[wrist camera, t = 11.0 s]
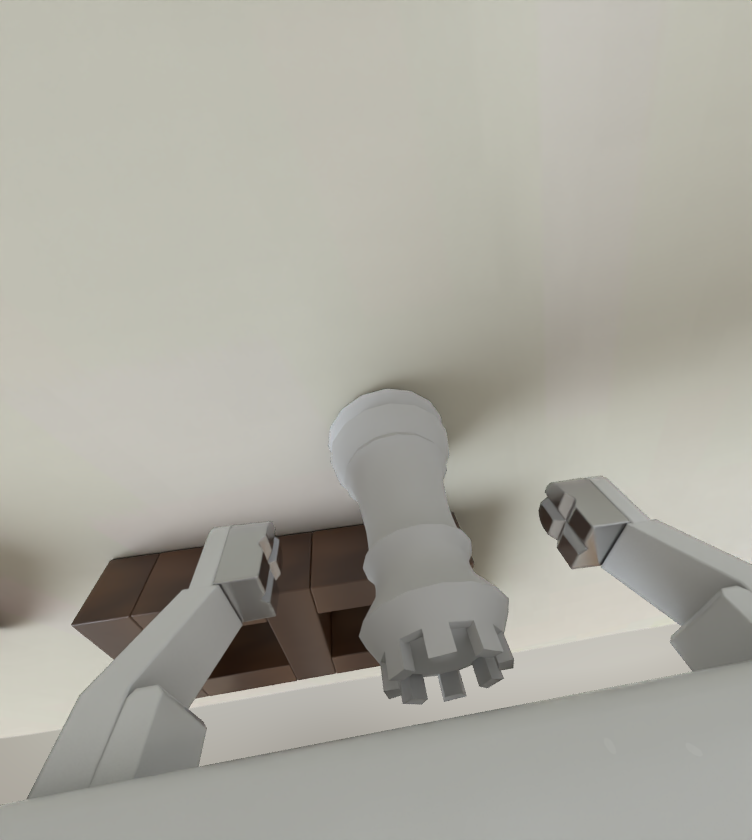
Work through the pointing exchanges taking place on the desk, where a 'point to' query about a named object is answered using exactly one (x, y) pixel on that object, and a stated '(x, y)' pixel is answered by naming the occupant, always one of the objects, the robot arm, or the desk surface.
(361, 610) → the stand
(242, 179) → the desk surface
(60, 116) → the desk surface
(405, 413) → the rook chess piece
